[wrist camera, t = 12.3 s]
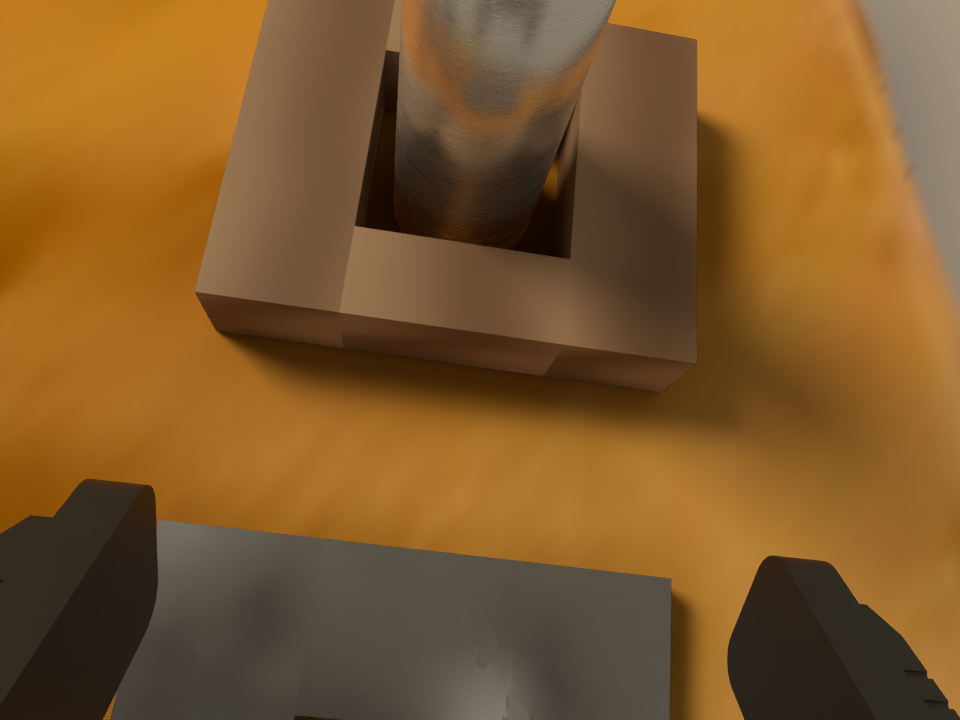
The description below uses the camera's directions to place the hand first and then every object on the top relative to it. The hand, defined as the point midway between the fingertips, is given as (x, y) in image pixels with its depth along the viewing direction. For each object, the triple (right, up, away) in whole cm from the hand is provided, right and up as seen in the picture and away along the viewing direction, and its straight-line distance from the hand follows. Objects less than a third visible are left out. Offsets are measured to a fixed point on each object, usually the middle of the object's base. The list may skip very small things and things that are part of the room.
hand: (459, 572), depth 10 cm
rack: (0, +7, +12) cm, 14 cm away
